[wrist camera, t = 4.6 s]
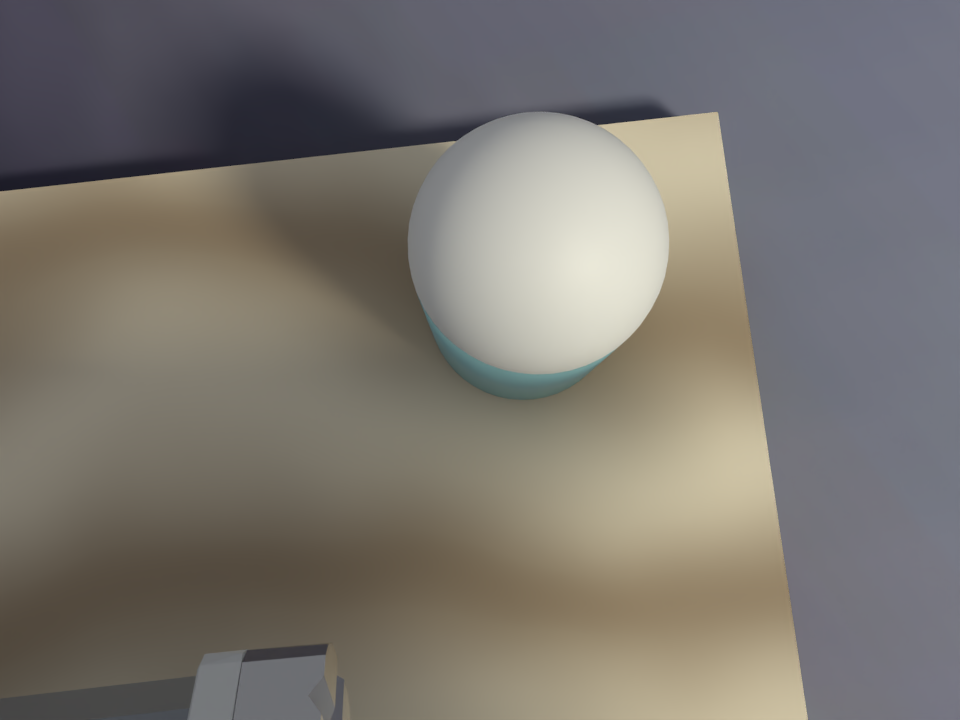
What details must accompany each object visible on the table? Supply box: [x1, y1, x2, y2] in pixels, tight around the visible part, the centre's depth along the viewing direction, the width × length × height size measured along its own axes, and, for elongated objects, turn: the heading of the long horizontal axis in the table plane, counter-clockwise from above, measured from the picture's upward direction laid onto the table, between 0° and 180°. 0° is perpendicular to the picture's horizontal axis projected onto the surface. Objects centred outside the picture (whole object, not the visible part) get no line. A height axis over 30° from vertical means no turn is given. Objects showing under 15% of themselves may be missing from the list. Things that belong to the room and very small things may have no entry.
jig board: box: [0, 112, 808, 720], centre depth 21 cm, size 20×20×2 cm
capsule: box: [408, 112, 669, 400], centre depth 17 cm, size 4×4×8 cm
